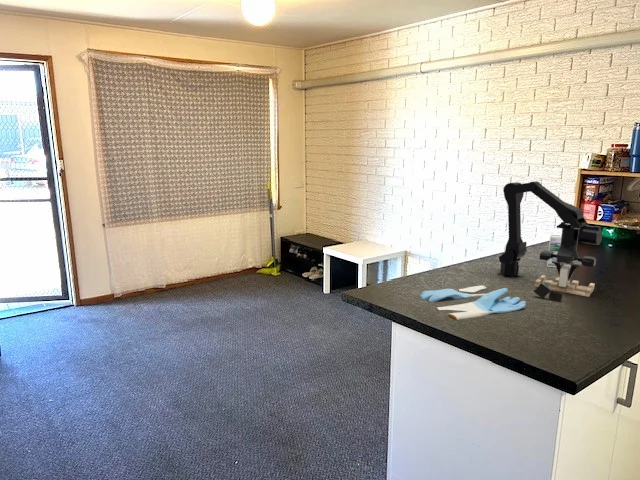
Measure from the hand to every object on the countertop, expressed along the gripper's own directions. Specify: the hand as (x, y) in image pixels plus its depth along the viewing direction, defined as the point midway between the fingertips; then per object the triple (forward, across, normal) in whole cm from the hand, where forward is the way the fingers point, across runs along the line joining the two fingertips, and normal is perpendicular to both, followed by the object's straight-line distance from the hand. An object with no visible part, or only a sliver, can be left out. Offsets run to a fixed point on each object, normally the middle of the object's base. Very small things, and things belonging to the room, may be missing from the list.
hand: (564, 279), depth 181 cm
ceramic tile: (+2, 0, 0) cm, 2 cm away
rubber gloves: (+4, -23, -38) cm, 45 cm away
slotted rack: (+3, 0, 0) cm, 3 cm away
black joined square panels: (+4, -2, -18) cm, 18 cm away
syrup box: (+4, -11, +34) cm, 36 cm away
